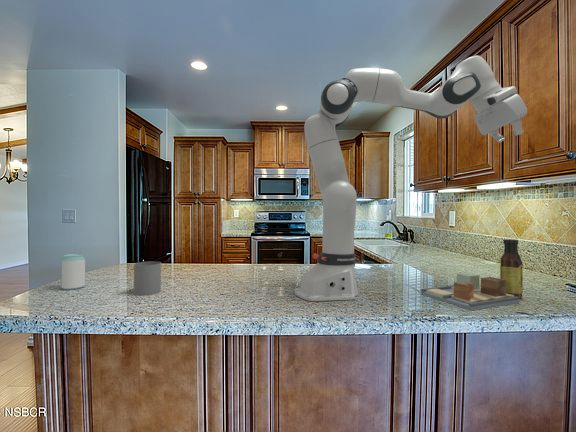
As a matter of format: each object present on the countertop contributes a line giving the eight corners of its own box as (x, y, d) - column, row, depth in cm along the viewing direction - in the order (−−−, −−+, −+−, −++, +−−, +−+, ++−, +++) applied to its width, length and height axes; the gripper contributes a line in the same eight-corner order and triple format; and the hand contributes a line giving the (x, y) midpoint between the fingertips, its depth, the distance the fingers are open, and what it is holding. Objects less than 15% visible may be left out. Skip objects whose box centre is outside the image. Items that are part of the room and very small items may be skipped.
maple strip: (471, 304, 90) (471, 286, 90) (450, 298, 97) (451, 281, 97) (514, 297, 98) (514, 281, 98) (492, 292, 105) (492, 277, 105)
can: (82, 284, 113) (82, 252, 113) (87, 288, 108) (87, 254, 108) (59, 287, 108) (59, 254, 108) (63, 291, 103) (63, 256, 103)
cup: (128, 293, 102) (128, 264, 102) (147, 288, 109) (148, 260, 109) (147, 296, 99) (147, 266, 98) (165, 290, 106) (166, 262, 106)
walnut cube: (495, 296, 96) (496, 281, 96) (480, 292, 101) (480, 278, 101) (505, 295, 98) (506, 280, 98) (490, 291, 103) (490, 276, 103)
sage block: (469, 290, 105) (469, 276, 105) (456, 287, 109) (456, 273, 109) (479, 289, 106) (479, 275, 106) (466, 286, 111) (466, 272, 111)
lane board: (471, 310, 88) (471, 304, 88) (420, 294, 106) (420, 288, 106) (519, 302, 97) (519, 297, 97) (464, 288, 114) (464, 284, 114)
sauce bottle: (526, 300, 100) (527, 240, 100) (505, 298, 101) (506, 239, 101) (515, 294, 106) (517, 238, 106) (496, 293, 108) (497, 238, 107)
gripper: (465, 116, 111) (484, 149, 110) (499, 94, 91) (521, 134, 90) (482, 108, 110) (500, 141, 110) (518, 83, 90) (541, 124, 89)
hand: (510, 138), depth 100 cm, fingers open, 8 cm apart
